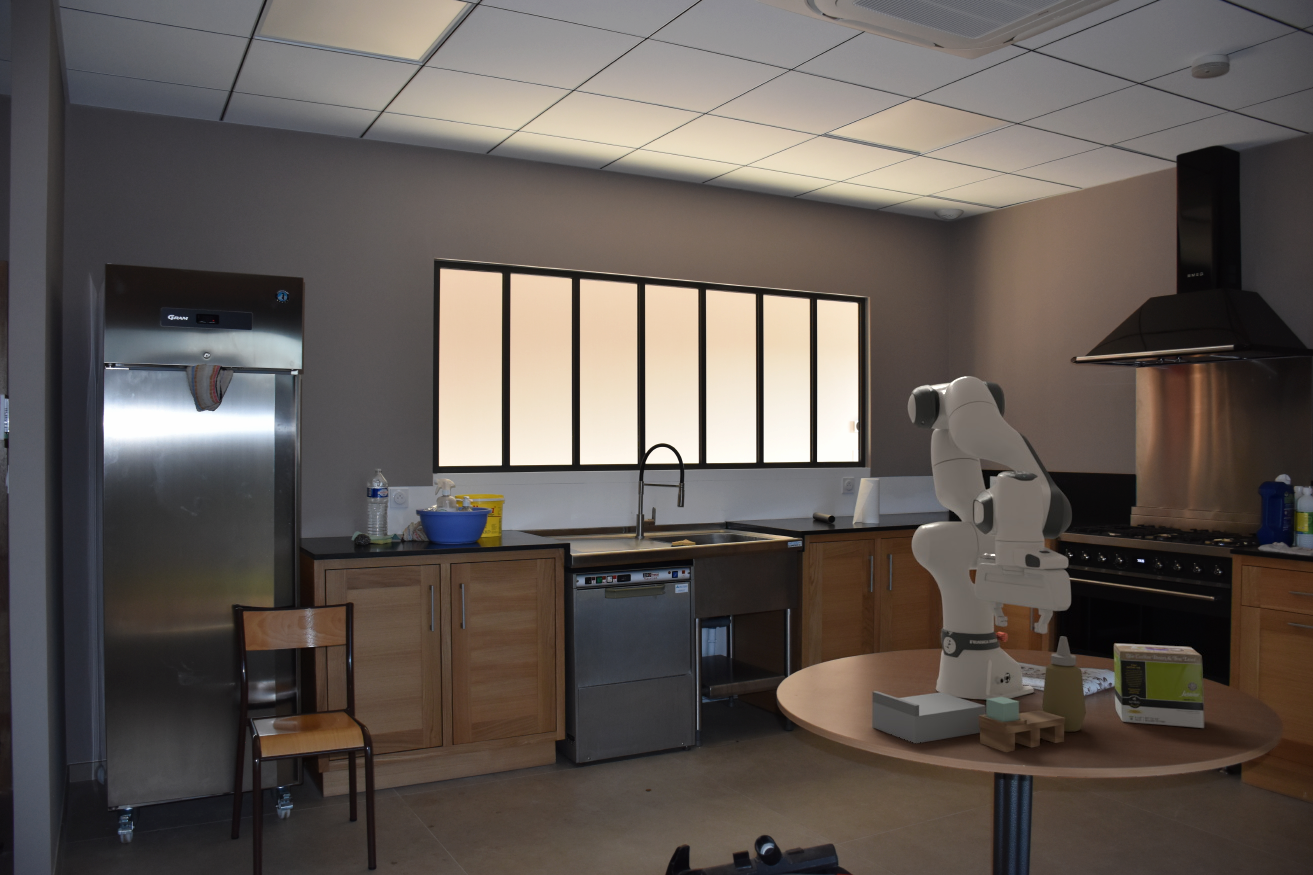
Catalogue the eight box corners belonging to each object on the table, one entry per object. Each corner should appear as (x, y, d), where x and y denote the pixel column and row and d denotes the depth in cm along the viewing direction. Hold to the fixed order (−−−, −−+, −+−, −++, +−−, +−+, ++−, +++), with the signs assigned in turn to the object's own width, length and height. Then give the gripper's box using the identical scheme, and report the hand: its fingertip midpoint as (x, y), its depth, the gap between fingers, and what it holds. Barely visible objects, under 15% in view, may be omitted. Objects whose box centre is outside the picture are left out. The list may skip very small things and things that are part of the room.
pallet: (1039, 732, 182) (1038, 705, 182) (1065, 741, 177) (1064, 713, 177) (978, 743, 175) (978, 715, 175) (1004, 752, 169) (1004, 723, 169)
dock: (940, 716, 193) (940, 682, 193) (985, 731, 182) (985, 695, 182) (872, 727, 185) (872, 691, 185) (915, 743, 174) (915, 705, 174)
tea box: (1193, 717, 194) (1193, 645, 195) (1204, 730, 185) (1204, 654, 185) (1113, 710, 199) (1113, 640, 200) (1120, 722, 190) (1120, 649, 190)
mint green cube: (1001, 717, 176) (1001, 696, 176) (1018, 723, 173) (1018, 701, 173) (986, 720, 174) (986, 698, 174) (1003, 725, 171) (1003, 703, 171)
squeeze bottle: (1083, 736, 180) (1082, 642, 180) (1038, 729, 184) (1038, 637, 184) (1088, 726, 186) (1088, 635, 187) (1045, 720, 191) (1045, 631, 191)
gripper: (966, 552, 186) (967, 622, 185) (1051, 560, 168) (1052, 638, 167) (990, 552, 189) (990, 621, 188) (1076, 559, 171) (1077, 635, 170)
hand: (1020, 629), depth 177 cm, fingers open, 8 cm apart
